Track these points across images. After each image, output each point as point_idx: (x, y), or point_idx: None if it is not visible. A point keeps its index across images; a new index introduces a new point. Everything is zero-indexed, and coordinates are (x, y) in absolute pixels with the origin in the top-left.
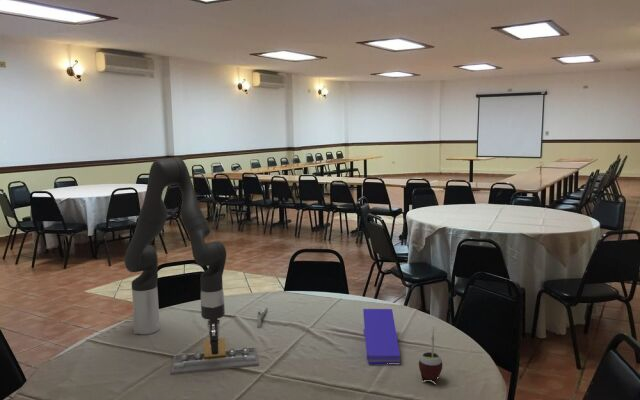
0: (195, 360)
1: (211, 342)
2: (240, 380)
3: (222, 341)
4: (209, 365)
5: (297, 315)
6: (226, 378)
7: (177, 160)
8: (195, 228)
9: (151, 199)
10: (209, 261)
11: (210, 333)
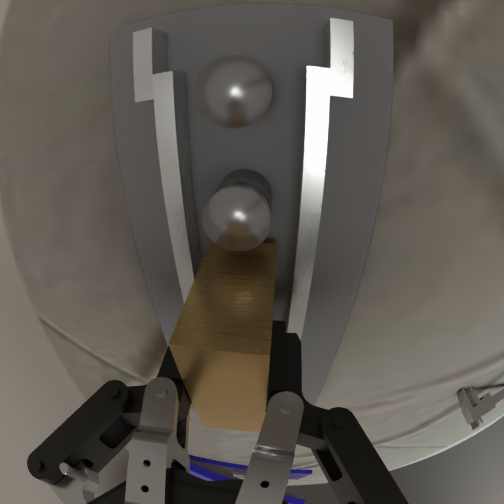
0: (175, 189)
1: (94, 400)
2: (91, 332)
3: (208, 420)
4: (170, 258)
5: (447, 427)
6: (92, 301)
7: None
8: None
9: None
10: None
11: (32, 458)
